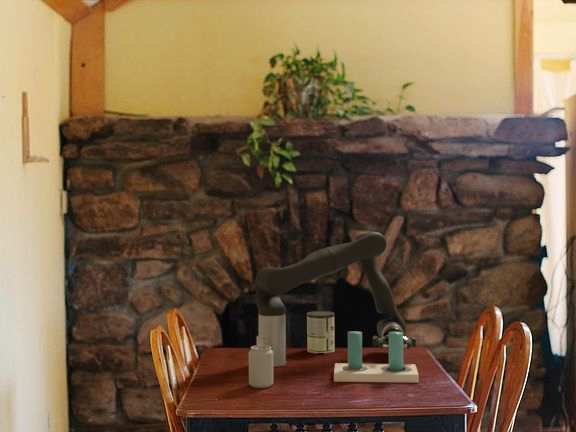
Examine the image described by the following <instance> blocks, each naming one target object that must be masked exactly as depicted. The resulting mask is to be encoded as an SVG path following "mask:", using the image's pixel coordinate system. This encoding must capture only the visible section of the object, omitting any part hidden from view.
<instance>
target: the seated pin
mask: <svg viewBox="0 0 576 432" xmlns="http://www.w3.org/2000/svg"><path fill="white" fill-rule="evenodd" d="M347 363H348V369H352V370H358V369H362V364H363V332H362V331H356V330H354V331H352V330H351V331H347Z"/></svg>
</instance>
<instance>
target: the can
mask: <svg viewBox="0 0 576 432" xmlns="http://www.w3.org/2000/svg"><path fill="white" fill-rule="evenodd" d="M248 384H249V385H250V386H251V388H254V389H266V388H269V387H272V385H273V384H274V367H273V351H272V350H271V347H270V346H266V345H257V344H256V345H253V346H252V345H251V346H250V349H249V351H248Z"/></svg>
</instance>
